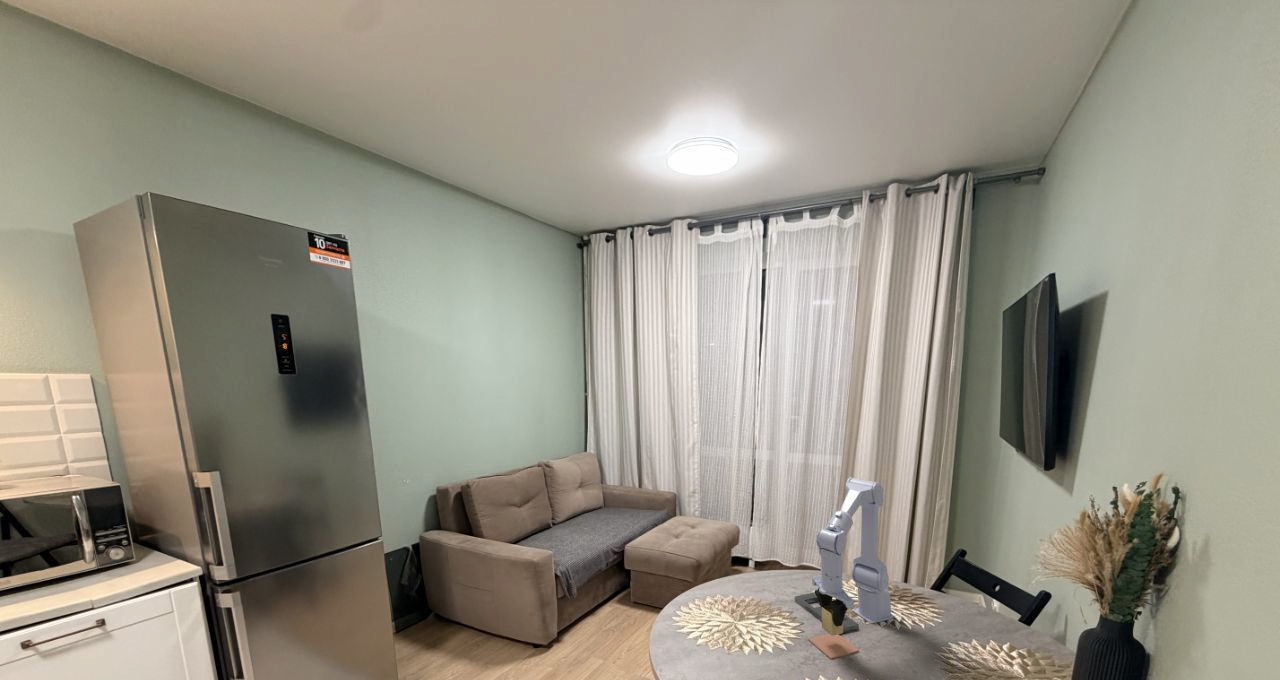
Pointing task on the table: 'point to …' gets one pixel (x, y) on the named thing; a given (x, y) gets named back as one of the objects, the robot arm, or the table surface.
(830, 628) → the cube with round inset
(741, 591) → the table surface
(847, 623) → the metal rail
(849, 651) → the terracotta mat
